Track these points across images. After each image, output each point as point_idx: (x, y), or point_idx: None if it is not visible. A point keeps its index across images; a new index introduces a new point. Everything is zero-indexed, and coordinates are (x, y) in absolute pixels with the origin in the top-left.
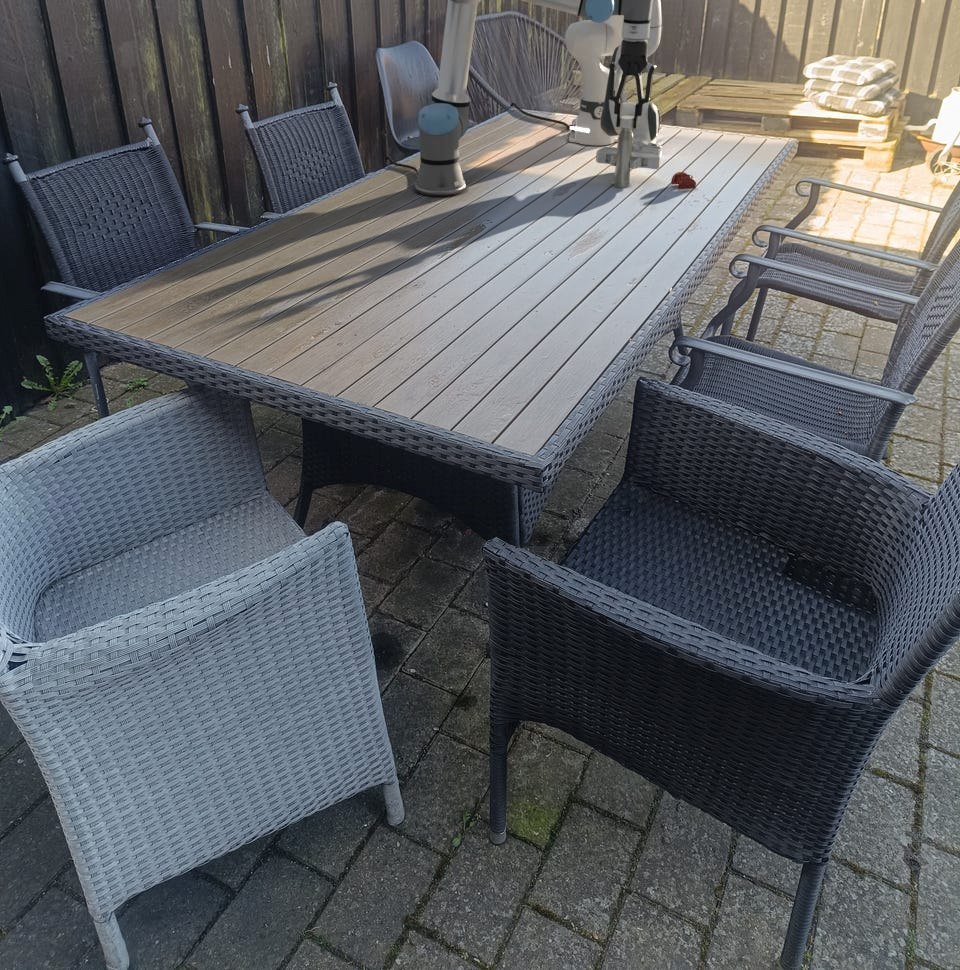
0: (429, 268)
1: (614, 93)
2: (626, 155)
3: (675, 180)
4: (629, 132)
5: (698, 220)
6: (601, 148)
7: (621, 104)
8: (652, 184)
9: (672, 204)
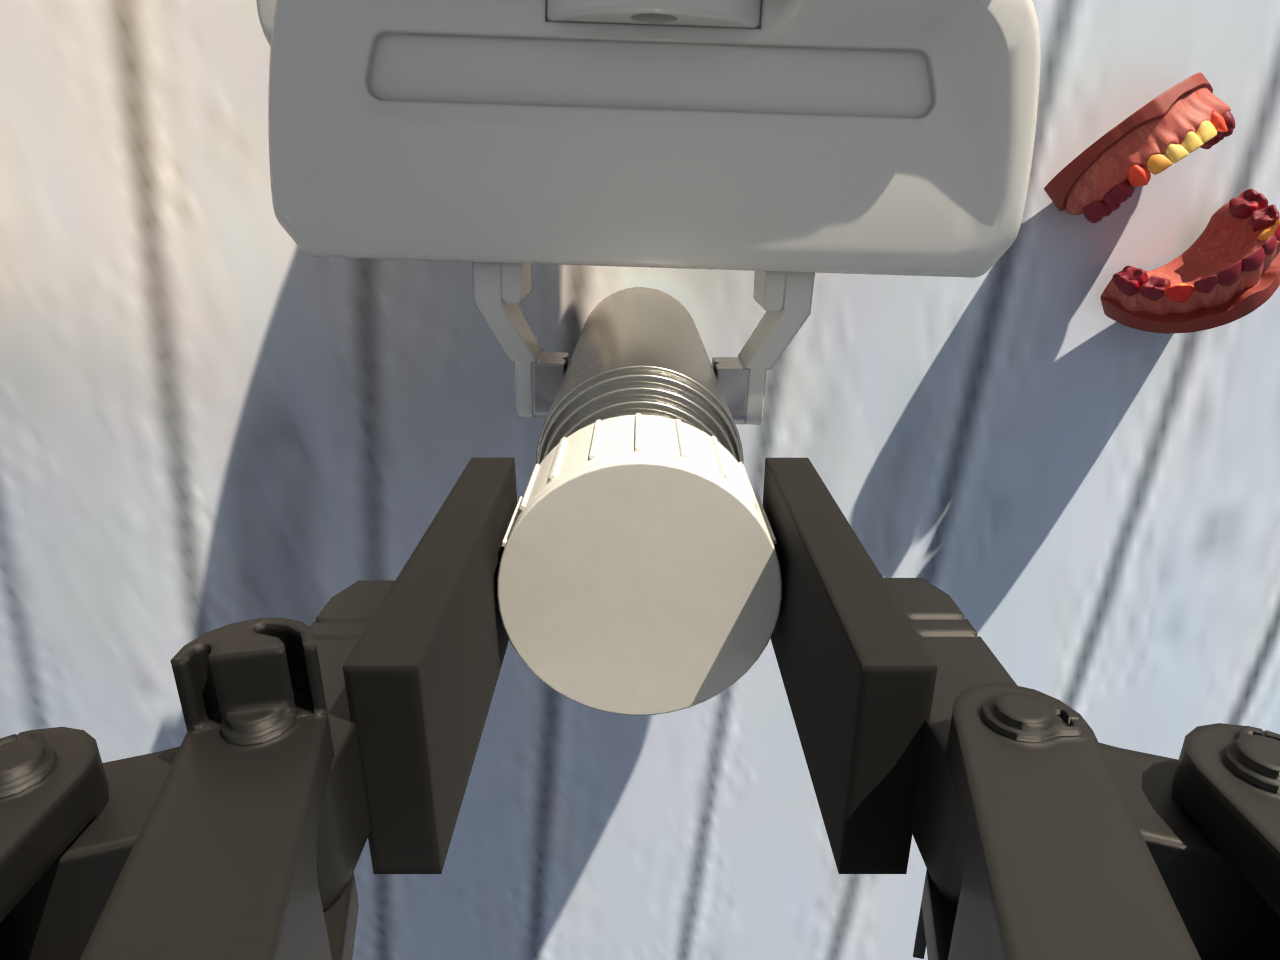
0: None
1: (7, 900)
2: None
3: (1098, 216)
4: None
5: None
6: (281, 96)
7: (441, 761)
8: None
9: (1053, 643)
